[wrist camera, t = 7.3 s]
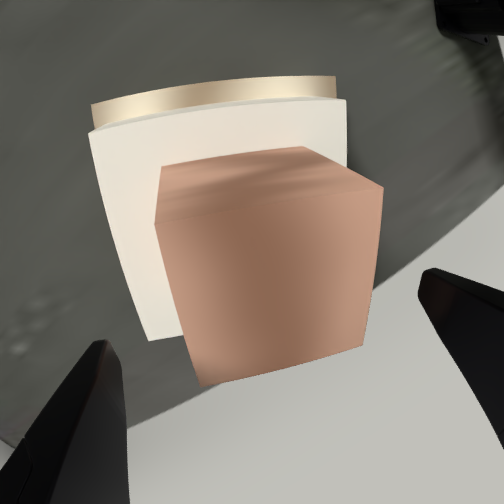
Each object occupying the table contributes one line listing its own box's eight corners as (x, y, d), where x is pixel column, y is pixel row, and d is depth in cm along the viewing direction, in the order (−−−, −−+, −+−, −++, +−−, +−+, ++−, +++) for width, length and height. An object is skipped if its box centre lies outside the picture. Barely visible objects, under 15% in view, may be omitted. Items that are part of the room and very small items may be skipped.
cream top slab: (311, 95, 15) (345, 100, 12) (313, 266, 20) (339, 299, 17) (105, 123, 13) (88, 133, 10) (149, 299, 18) (148, 341, 15)
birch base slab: (308, 76, 17) (335, 76, 14) (312, 248, 23) (333, 274, 20) (105, 102, 15) (91, 104, 12) (145, 281, 21) (143, 312, 18)
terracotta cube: (302, 145, 12) (383, 187, 8) (305, 264, 15) (362, 345, 10) (161, 166, 11) (154, 224, 7) (186, 288, 14) (200, 387, 9)
